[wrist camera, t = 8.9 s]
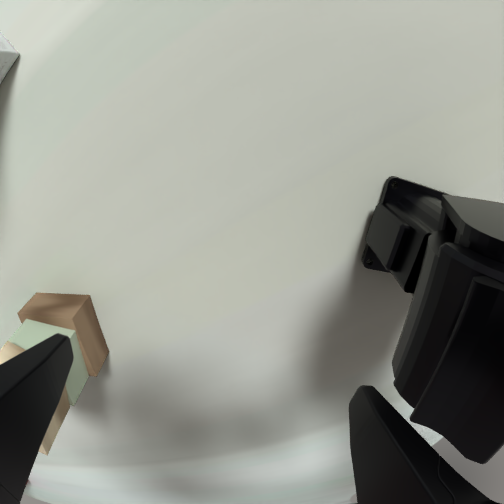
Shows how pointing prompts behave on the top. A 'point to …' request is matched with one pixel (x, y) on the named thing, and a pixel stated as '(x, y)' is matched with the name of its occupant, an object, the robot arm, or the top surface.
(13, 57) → the supplement box
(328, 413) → the top surface
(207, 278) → the top surface
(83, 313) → the walnut base block
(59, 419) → the maple cube
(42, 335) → the sage block
